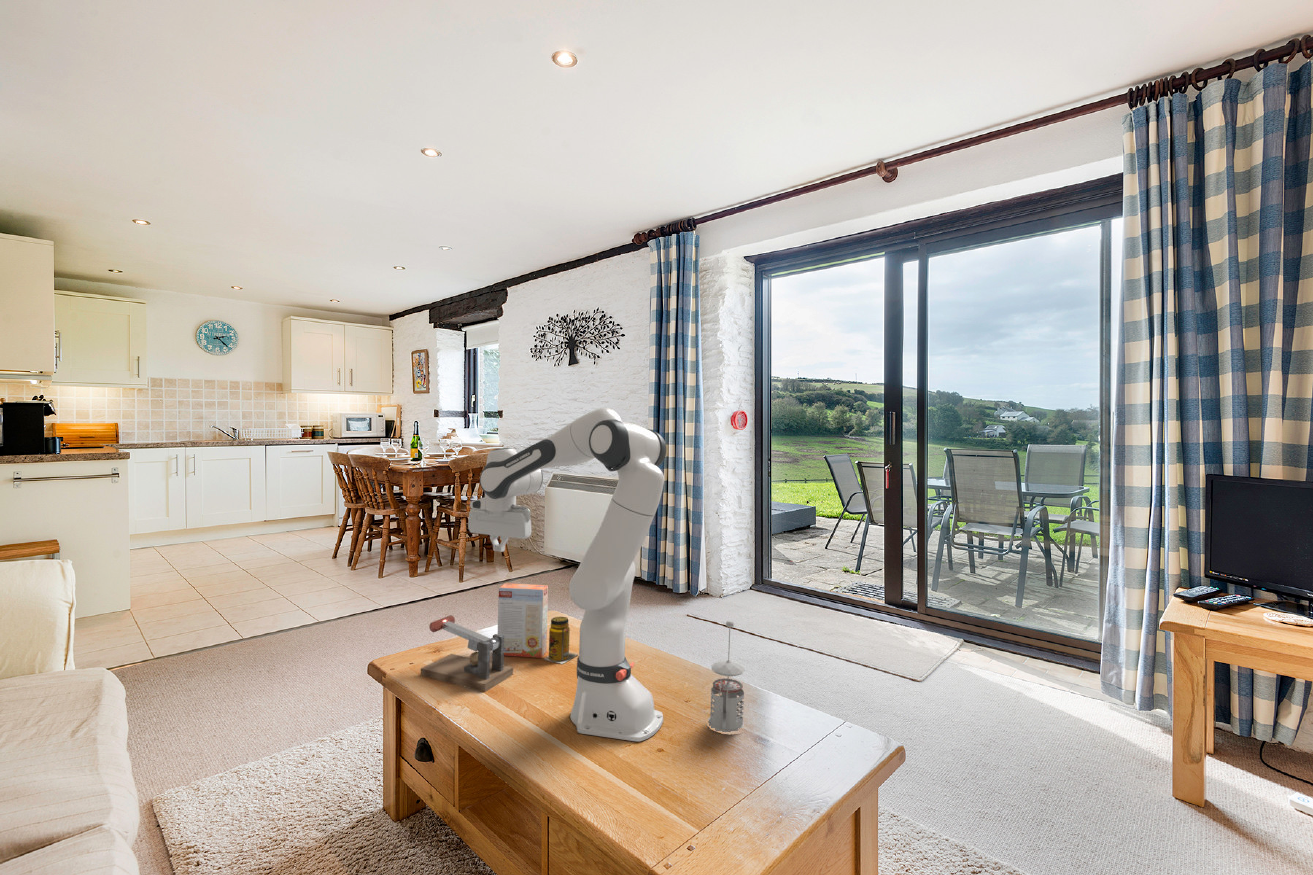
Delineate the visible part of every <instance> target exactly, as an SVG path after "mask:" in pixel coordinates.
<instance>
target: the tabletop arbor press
mask: <svg viewBox="0 0 1313 875" xmlns="http://www.w3.org/2000/svg"><path fill="white" fill-rule="evenodd" d="M493 637H498V638H499V639H500V642H501V644H500V646H499V647H498V648H497V649H495V650H493V651H490V643H489V642H485V641H480V642H478V651H474V652H472V653H471V654H470V656H468V657H467V656H463V655H459V654H454V653H450V654H448V655H446V656H443V657H441V658H439V659H438V660H435V661H434V662H433V661H432V662H431V663H429V664H427V665H424V666H422V667H421V668H420V677H425V678H428V679H432V680H436V681H439V682H440V681H441V682H444V683H448V684H453V685H456V686H460V685H461V686H460V687H464V686H465V687H464V688H468V689H472V690H476V691H481V692H487V691H488V690H490V689H492V688H493V687H496V686H497V685H499V684H500V683H502V682H504V681H505V680H507V679H509V678H510V677H512V676H513V675H514V667H512V666H507V665H505V664H504V658H505V656H504V636H503V635H498V633H497V634H496V633H495V634H492V638H493ZM491 654H492V655H491Z"/></svg>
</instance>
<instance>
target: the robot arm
mask: <svg viewBox="0 0 1313 875" xmlns="http://www.w3.org/2000/svg"><path fill="white" fill-rule="evenodd" d="M666 456H667V444H666V441H665V439H664V437H663V436H662V435H660V434H659V432H656V431H655V430H653V429H650V428H645V427H644V426H641V425H638V424H637V423H632V422H628V421H622V418H621V416H620V415H619V413H618V412H616V411H615V410H614V409H612V408H609V407H600V408H597V409H594V410H592V411H590V412H587V413H585V414H583V415H580V417H577V418H576V419H574V420H573V421H571V422H569V424H567V425H565V426H564V427H562V428H561V429H559V430H557V431H556V432H554V433H552V434H551V435H548V436H547V437H545V438H543V439H541V440H540V441H537V442H536V443H534V444H532V445H529V446H527V447H526V448H524V449H522V450H520V451H519V452H517V450H516V449H515V448H512V447H502V448H501V447H499V448H495V449H491V450H490V451H489V452H488V454H487V458H486V465H485V466H484V467H483V469H482V471H481V472H480V475H479V486H480V487H481V490H482V491H483V493H484V497H481V498H479V499H474V500H471V501H470V502H469V507H470V511H469V514H468V519H467V520H468V524H467V528H468V530H469V532H470V533H471V534H473V533H474V534H480V535H487V536H488V535H489V539H490V542H491V544H492V549H493V551H494V552H500V553H501V552H502V553H503V552H505V550H506V544H507V543H508V541H509V539H510V538H513V539H519V540H523V539H524V540H525V539H529V538H530V537H531V535H532V522H531V510H530V509H529V508H528V507H527V506H526V505H518V504H517V496H518V497H519V496H526V495H532V494H535V493H537V492H538V491H539V490H540V489H541V487H542V485H543V480H544V476H543V471H542V469H547V468H548V469H549V468H555V467H558V468H560V467H572V466H573V467H574V466H578V465H582V464H584V463H587V462H589V461H592V460H594V459H596V460H598V461H599V462H600V463H601V464H603V466H604V467H605V468H606V469H607V470H608V471H609V472H616V473H617V476H618V480H617V484H616V488H615V489H614V491H613V492H614V493H613V494H612V496H611V499H610V500H609V501H610V502H609V504H608V506H607V510H606V511H605V515H604V517H603V519H602V522H601V525H599V526H600V527H599V529H598V530H597V532H596V534H595V536H594V537H593V539H592V541H591V542H590V544H589V547H588V548H587V550H586V552H585V554H584V555H583V558H582V559H581V562H580V564H579V565H578V568H577V569H576V571H575V573H574V574H573V576H572V577H571V578H570V581H569V585H568V592H569V596H570V598H571V600H572V602H573V603H574V605H576V606H577V607H578V608H580V609H581V610H584V613H583V617H582V619H581V622H580V625H579V646H578V647H579V648H578V650H579V651H578V654H579V655H577V656H578V657H576V658H577V660H576V678H577V682H576V692H575V695H574V696H575V697H574V701H573V706H572V708H571V712H570V720H571V721H572V723H573V724H574V725H575V726H576V731H577V733H579V734H583V735H588V736H589V735H590V736H595V737H596V736H597V737H603V738H604V737H605V738H610V739H611V738H612V739H617V740H626V741H632V742H642V741H645V740H647V739H649V738H651V737H652V736H654V735H655V734H656V733H657V732H658V731H659V730H660V728H661V727H662V726H663V724H662V723H664V714H663V712H662V711H659V710H657V709H655V703H654V698H653V694H652V693H651V692H650V691H649V690H648V689H647V688H646V687H645V686H644V685H643V684H642V683H641V682H640V681H639V680H638V679H637V678H635V676H634V675H633V674H632V669H634V668H633V667H635V665H634V663H635V662H634V661H632V662H631V663H629V662H628V659H627V658H626V655H625V654H626V629H627V622H628V621H627V620H628V616H629V615H628V614H629V609H630V605H631V598H632V590H633V584H634V580H635V576H636V569H637V568H636V564H635V561H634V560H635V559H636V557H637V555H638V553H639V552H640V550H641V548H642V546H643V544H644V543H645V540H646V537H647V535H648V532H649V530H650V528H651V525H652V523H653V520H654V519H655V518H654V517H655V515H656V513H657V509H658V507H659V504H660V500H661V498H662V494H663V491H664V490H663V489H664V485H665V484H664V483H665V476H664V473H663V471H662V470H661V469H660V467H659V466H661V465H662V464H663V462H664V461H665V458H666ZM499 537H500V538H499ZM498 539H499V540H500V541H501V542H500V543H499V541H498Z"/></svg>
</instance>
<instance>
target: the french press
mask: <svg viewBox="0 0 1313 875" xmlns="http://www.w3.org/2000/svg"><path fill="white" fill-rule="evenodd" d="M725 626H726V627H728V650H730V647H731V646H730V644H731V638H730V637H731V628H733V627H734V626H735V624H734V622H733V621H732V620H727V621H726V622H725ZM727 652H728V655H727V656H728V658H727V659H721V660H718V661H716V662H714V663H712V664H711V666H710V667H711V670H712V671H713V672H714V673H715V674H717V675H719V676H725V677H727V678H725V677H724V678H718V679H716V680H714V681H713V682H712V687H711V688H710V689H711V690H710V695H711V696H710V715H709V717H708V719H707V720H709V721H708V723H709V726H711V728H715V730H716V731H722V732H731V731H738V730H739V729H740V728H743V727H742V726H744V724H743V723H744V722H745V721H744V717H743V716H744V711H743V710H744V708H745V707H744V706H743V705H745V701H743V700H744V699H745V692H744V690H743V683H741V682H740V681H738V680H737V679H733V678H729V677H737V676H740V675H743V673H745V671H746V667H745V666H744V665H743V664H741V663H740V662H738V661H737V660H732V659H730V651H727ZM739 703H740V704H739ZM743 721H744V722H743ZM738 728H739V729H738Z"/></svg>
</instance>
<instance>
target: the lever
mask: <svg viewBox="0 0 1313 875" xmlns="http://www.w3.org/2000/svg"><path fill="white" fill-rule="evenodd" d="M455 622H456V619H455V617H454V615H451V614H450V615H448V616H444V617H441V618H440V619H437V620H434V621H432V622H430V623H429V626H428V627H429V631H430V632H432V633H437V632H439V631H441V630H444V631H446V632H449V633H451V634H453V635H455V636H458V637H460V638H462V639H465V640H467V641H468V642H467V646H466V647H467V649H469V650H471V651H474V652H478V642H480V641H485V642H489V643H490V652H492V651H493V650H495V649H497V648H498V647H499V646H500V644H501V642H500V639H499V638H498V637H493V636H492V637H491V638H490V637H488V636H486V635H483V634H481V633H478V632H476V631H475V630H472V629H469V628H468V627H467V628H466V627H464V626H462V625H459V624H457V623H455Z"/></svg>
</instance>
